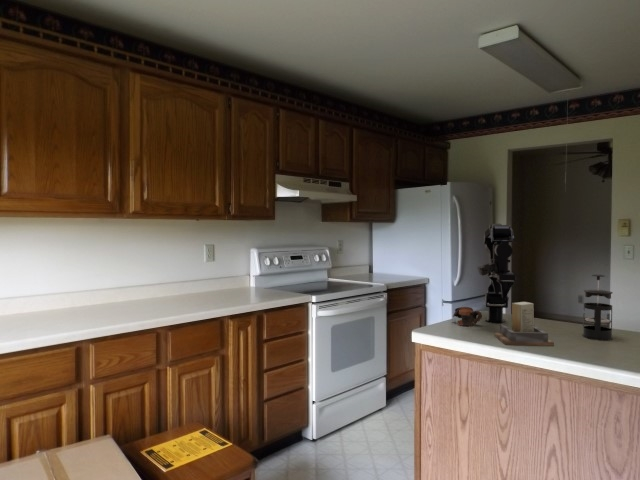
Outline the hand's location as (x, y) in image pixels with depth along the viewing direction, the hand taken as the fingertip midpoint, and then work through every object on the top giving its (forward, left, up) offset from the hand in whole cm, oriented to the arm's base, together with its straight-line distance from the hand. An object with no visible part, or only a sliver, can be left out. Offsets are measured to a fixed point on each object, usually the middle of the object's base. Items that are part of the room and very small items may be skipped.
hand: (500, 296), depth 180 cm
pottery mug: (-1, -13, -13) cm, 19 cm away
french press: (-9, +32, -13) cm, 36 cm away
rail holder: (+14, +12, -13) cm, 22 cm away
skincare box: (+13, +12, -12) cm, 22 cm away
